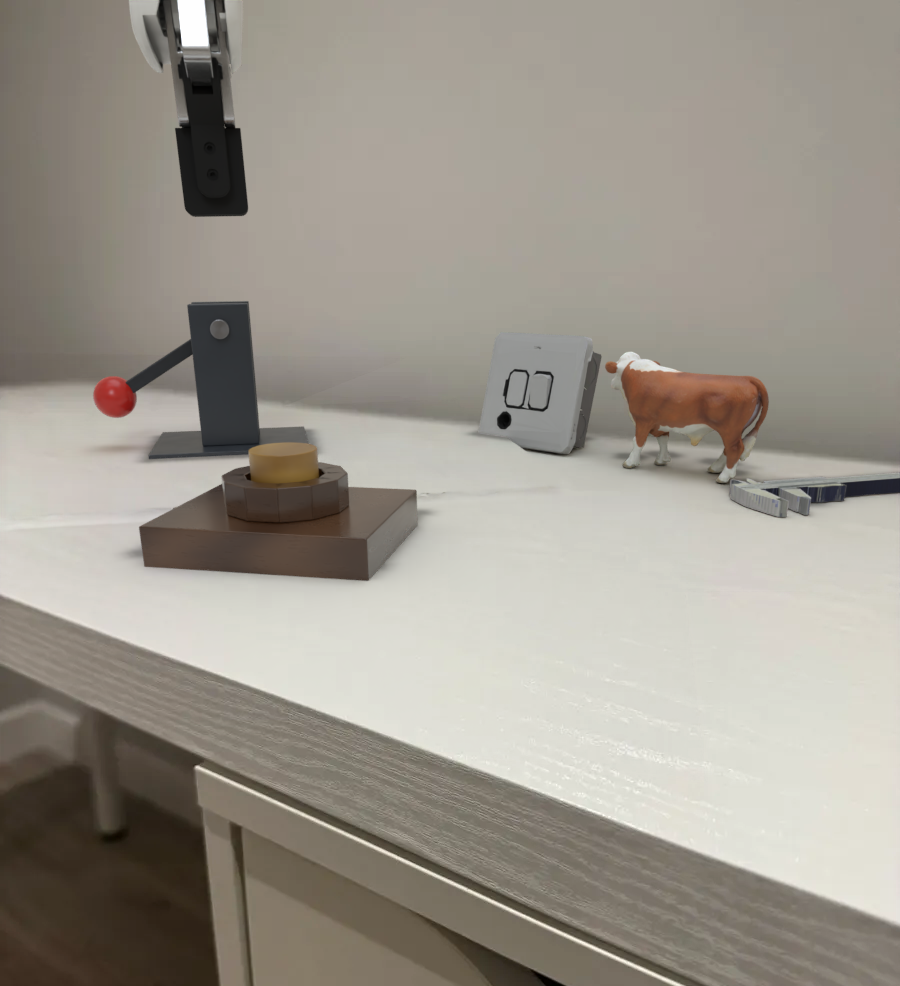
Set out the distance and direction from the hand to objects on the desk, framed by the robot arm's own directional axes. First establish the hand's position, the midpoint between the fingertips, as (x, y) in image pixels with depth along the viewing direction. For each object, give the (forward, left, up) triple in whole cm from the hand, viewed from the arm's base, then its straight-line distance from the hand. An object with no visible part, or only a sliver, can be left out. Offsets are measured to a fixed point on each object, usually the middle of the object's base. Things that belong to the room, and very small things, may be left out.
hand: (217, 214), depth 46 cm
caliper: (+40, +13, -17) cm, 45 cm away
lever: (-13, +18, -11) cm, 25 cm away
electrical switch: (+14, +28, -17) cm, 35 cm away
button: (+4, -3, -13) cm, 14 cm away
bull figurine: (+25, +20, -17) cm, 36 cm away
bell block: (+4, -3, -17) cm, 18 cm away
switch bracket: (-10, +20, -17) cm, 28 cm away
